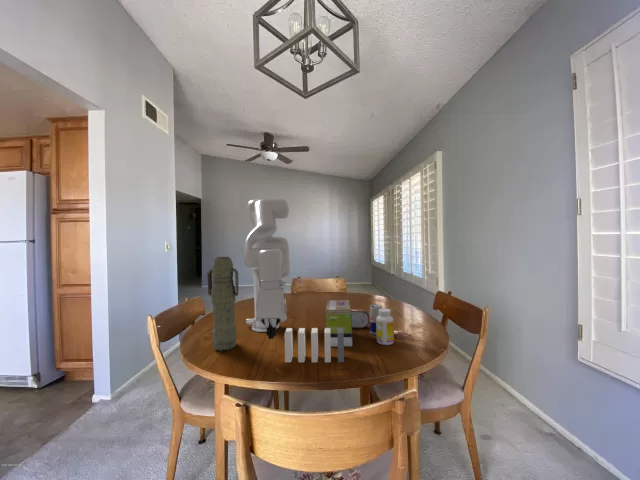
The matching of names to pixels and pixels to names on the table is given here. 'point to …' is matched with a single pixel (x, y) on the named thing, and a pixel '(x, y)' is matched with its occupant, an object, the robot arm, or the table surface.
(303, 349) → the domino
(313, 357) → the domino
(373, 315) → the energy drink
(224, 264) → the thermos
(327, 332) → the domino
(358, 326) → the tin
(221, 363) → the table surface
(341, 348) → the domino
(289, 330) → the domino
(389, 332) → the supplement bottle
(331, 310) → the tea box
